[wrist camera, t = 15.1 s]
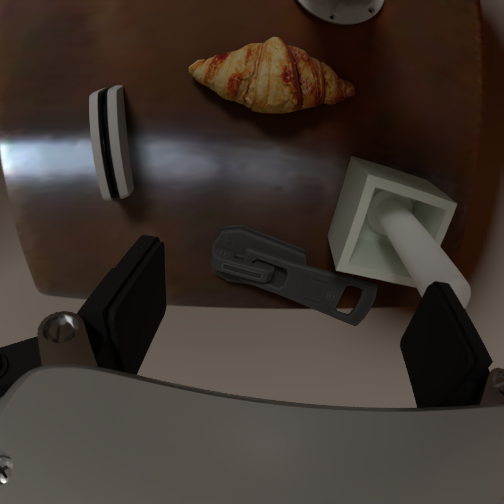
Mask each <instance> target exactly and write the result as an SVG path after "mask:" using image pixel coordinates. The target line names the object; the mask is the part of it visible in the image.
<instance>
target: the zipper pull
mask: <svg viewBox="0 0 504 504" xmlns="http://www.w3.org/2000/svg"><path fill="white" fill-rule="evenodd" d="M210 264H211V266H212V270H213V272H214V273H216V274H217V275H219V276H220V277H222V278H223V279H225V280H226V281H231V282H237V283H243V284H249V285H254V286H256V287H259V288H262V289H265V290H267V291H270V292H273V293H276V294H279V295H281V296H284V297H286V298H288V299H291V300H293V301H295V302H298V303H300V304H303V305H305V306H307V307H310V308H312V309H315V310H317V311H320V312H322V313H324V314H327V315H330V316H332V317H334V318H336V319H339V320H341V321H344V322H346V323H349V324H351V325H354V326H356V325H358V324H359V323H360V322H361V321H362V320H363V319H364V318H365V316H366V315H367V313H368V312H369V310H370V308H371V307H372V305H373V303H374V300H375V298H376V293H377V288H378V287H377V284H375V283H371V282H368V281H364V280H360V279H357V278H353V277H349V276H345V275H341V274H337V273H334V272H330V271H326V270H322V269H319V268H315V267H311V266H308V263H307V258H306V254H305V250H304V249H302V248H300V247H298V246H295V245H292V244H290V243H287V242H285V241H282V240H280V239H277V238H274V237H272V236H269V235H267V234H264V233H261V232H259V231H256V230H254V229H251V228H249V227H246V226H244V225H234V226H225V227H223V229H222V230H221V232H220V233H219V234H218V236H217V237H216V239H215V241H214V243H213V246H212V250H211V255H210ZM350 285H352V286H355V287H358V288H361V289H362V292H361V296H360V298H359V299H358V301H357V303H356V305H355V307H354V309H353V310H352V311H351V312H350V313H349V314H345V313H342V312H339V311H337V310H336V309H335V308H336V306H337V304H338V302H339V300H340V298H341V296H342V294H343V292H344V290H345V288H346V286H350Z"/></svg>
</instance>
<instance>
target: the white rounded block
mask: <svg viewBox="0 0 504 504" xmlns="http://www.w3.org/2000/svg"><path fill="white" fill-rule="evenodd" d="M89 114H90V131H91V142H92V150H93V157H94V163H95V168H96V173H97V178H98V182H99V186H100V190H101V194H102V197H103V199H104V200H113V199H114V198H116V197H120V198H121V199H123V198H125V197H128V196H130V194H131V193H132V192H133V190H134V184H133V177H132V170H131V163H130V155H129V146H128V137H127V128H126V118H125V106H124V93H123V86H116V85H115V86H114V87H112V88H110V89H107V87H106V88H103V89H100V90H98V91H95V92H93V94H91V95H90V98H89Z"/></svg>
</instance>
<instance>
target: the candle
mask: <svg viewBox="0 0 504 504" xmlns="http://www.w3.org/2000/svg"><path fill="white" fill-rule="evenodd" d="M366 215H367V220H368V222H369V224H370V226H371V227H372V228H373V229H374V230H375V231H376V232H378V233H380V234H384V235H387V237H388V238H389V240H390V242H391V243H392V245H393V247H394V248H395V250H396V252H397V254H398V255H399V257H400V259H401V260H402V262H403V264H404V266H405V267H406V269H407V271H408V273H409V275H410V276H411V278H412V280H413V282H414V284H415V285H416V287H417V289H418V291H419V293H420V295H421V297H423V295H424V293H425V291H426V289H427V287H428V285H430V284H432V283H433V282H434V281H438V282H444V283H449V285H450V286H451V288H452V289H453V291H454V292H455V294H456V296H457V297H458V299H459V301H460V302H461V304H462V306H463V307H464V309H465V307H466V306H467V304H468V302H469V300H470V296H471V289H470V286H469V284H468V282H467V281H466V280H465V278H464V277H463V276H462V274H461V273H460V272H459V270H458V269H457V268H456V266H455V265H454V264H453V262H452V261H451V260H450V259H449V257H448V256H447V255H446V254H445V252H444V251H443V250H442V249H441V247H440V246H439V245H438V244H437V242H436V241H435V240H434V239H433V238H432V236H431V235H430V234H429V233H428V232H427V231H426V229H425V228H424V227H423V226H422V225H421V224H420V222H419V221H418V220H417V219H416V218H415V217H414V216H413V214H412V204H411V201H410V199H409V197H406V196H402V195H399V194H396V193H393V192H389V191H386V190H383V189H382V190H380V191H378V192H377V193H375V194H374V195H373V196H372V198H371V201H370V204H369V207H368V210H367V213H366Z"/></svg>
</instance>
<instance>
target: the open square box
mask: <svg viewBox="0 0 504 504" xmlns="http://www.w3.org/2000/svg"><path fill="white" fill-rule="evenodd" d="M382 189H383V190H386V191H389V192H393V193H396V194H399V195H402V196H406V197H409V199H410V201H411V204H412V214H413V216H414V217H415V218H416V219H417V220H418V221H419V222H420V224H421V225H422V226H423V227H424V228H425V229H426V231H427V232H428V233H429V234H430V235H431V236H432V238H433V239H434V240H435V241H436V242H437V244H438V245H439V246H440V245H441V243H442V241H443V238H444V236H445V234H446V231H447V229H448V227H449V224H450V222H451V219H452V217H453V214H454V212H455V209H456V206H457V203H456V202H454V201H453V200H452V199H451V198H450V197H448V196H447V195H446V194H444V193H443V192H442V191H441V190H439V189H438V188H437V187H435V186H434V185H433V184H431V183H430V182H429V181H427V180H425V179H422V178H419V177H417V176H414V175H411V174H408V173H405V172H402V171H399V170H396V169H393V168H390V167H386V166H383V165H380V164H377V163H374V162H370V161H367V160H364V159H360V158H357V157H353V156H351V158H350V161H349V165H348V168H347V172H346V175H345V179H344V182H343V186H342V189H341V193H340V196H339V199H338V203H337V206H336V209H335V212H334V216H333V219H332V222H331V225H330V229H329V232H328V235H327V236H328V240H329V244H330V248H331V252H332V256H333V260H334V264H335V269H336V271H341V272H345V273H350V274H355V275H359V276H364V277H369V278H373V279H378V280H383V281H387V282H392V283H397V284H402V285H406V286H411V287H416V285H415V284H414V282H413V280H412V278H411V276H410V275H409V273H408V271H407V269H406V267H405V266H404V264H403V262H402V260H401V259H400V257H399V255H398V254H397V252H396V250H395V248H394V247H393V245H392V243H391V242H390V240H389V238H388V237H387V235H384V234H380V233H378V232H376V231H375V230H374V229H373V228H372V227H371V226H370V224H369V222H368V220H367V215H366V213H367V210H368V207H369V204H370V201H371V198H372V196H373V195H374V194H375V193H377V192H378V191H380V190H382ZM416 288H417V287H416Z"/></svg>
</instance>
